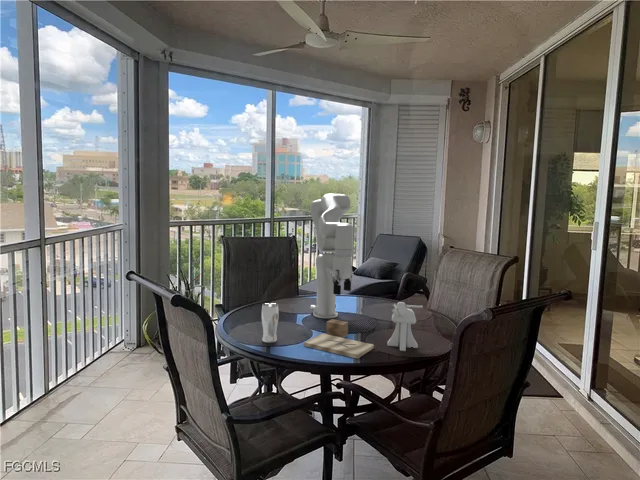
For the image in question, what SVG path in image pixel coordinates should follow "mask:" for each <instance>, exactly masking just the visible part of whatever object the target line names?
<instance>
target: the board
mask: <svg viewBox="0 0 640 480" xmlns="http://www.w3.org/2000/svg"><path fill="white" fill-rule="evenodd" d="M303 347H308V348H311V349H316V350H319V351H325V352H329V353H333V354H337V355H339V356H340V355H341V356H345V357H348V358H352V359H359V358H361V357H362V356H364V355H366V354H367V353H369V352H370V351H372V350H373V349H374V348H375V347H374V344H373V343H367V342H364V341H359V340H354V339H349V338H346V337H344V338H341V337H336V336H332V335H327V334H326V333H320V334H318V335H316V336H314V337H312V338H310V339H308V340H306V341H304V342H303Z"/></svg>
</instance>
